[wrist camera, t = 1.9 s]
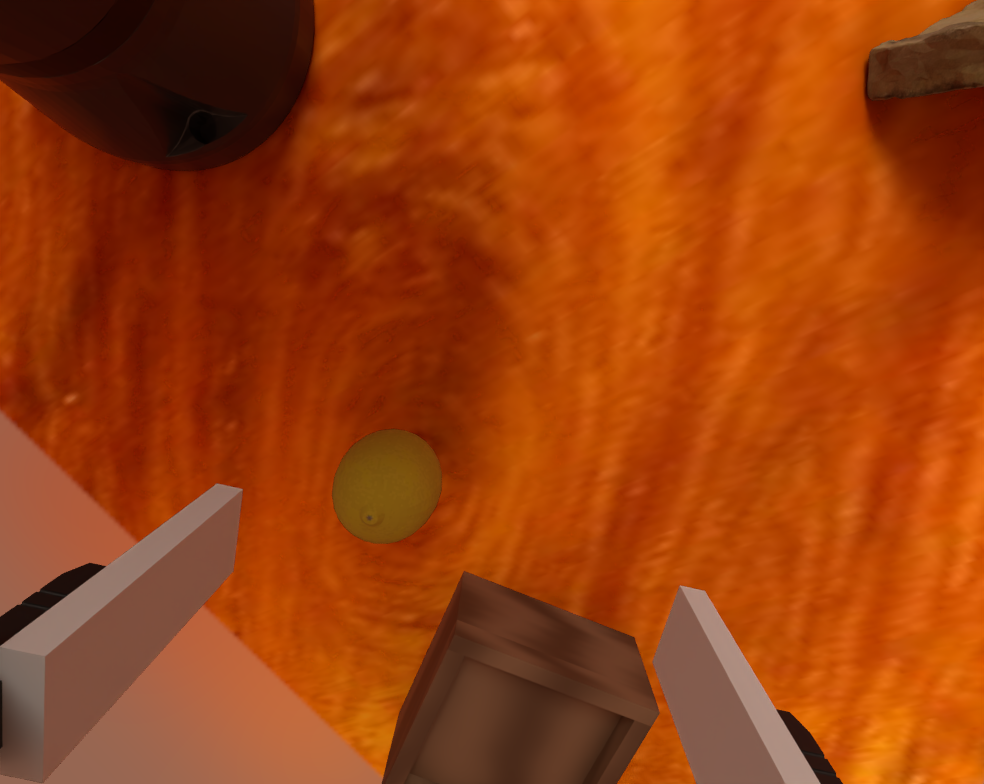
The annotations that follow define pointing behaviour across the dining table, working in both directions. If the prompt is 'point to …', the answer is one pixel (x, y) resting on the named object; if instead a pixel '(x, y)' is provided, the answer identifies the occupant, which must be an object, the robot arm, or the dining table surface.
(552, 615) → the walnut block
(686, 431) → the dining table surface
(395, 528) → the lemon
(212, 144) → the robot arm
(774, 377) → the dining table surface
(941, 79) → the rock
